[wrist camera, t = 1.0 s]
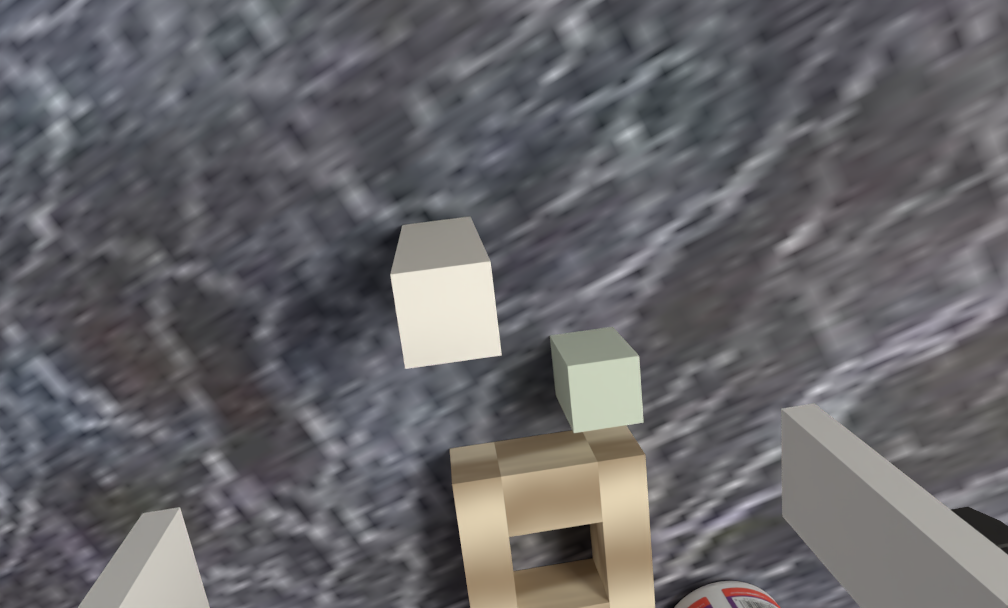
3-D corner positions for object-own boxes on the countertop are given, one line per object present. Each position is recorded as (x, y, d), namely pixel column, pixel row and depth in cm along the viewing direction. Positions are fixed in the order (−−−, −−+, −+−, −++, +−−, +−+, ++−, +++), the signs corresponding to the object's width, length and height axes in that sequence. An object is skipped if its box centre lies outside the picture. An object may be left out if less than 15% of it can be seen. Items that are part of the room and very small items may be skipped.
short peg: (549, 335, 38) (567, 366, 33) (612, 326, 38) (639, 355, 34) (555, 394, 39) (573, 433, 34) (616, 385, 39) (643, 422, 35)
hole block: (449, 448, 39) (452, 484, 35) (624, 422, 40) (645, 454, 36) (475, 628, 42) (480, 679, 39) (637, 600, 43) (657, 647, 39)
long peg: (402, 225, 36) (390, 274, 24) (470, 216, 36) (490, 261, 25) (412, 291, 37) (405, 368, 25) (478, 282, 37) (501, 355, 25)
